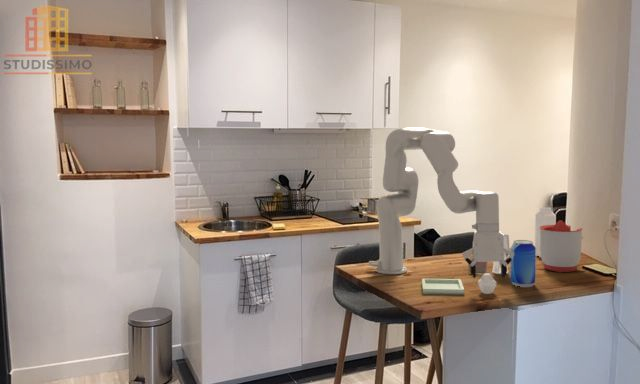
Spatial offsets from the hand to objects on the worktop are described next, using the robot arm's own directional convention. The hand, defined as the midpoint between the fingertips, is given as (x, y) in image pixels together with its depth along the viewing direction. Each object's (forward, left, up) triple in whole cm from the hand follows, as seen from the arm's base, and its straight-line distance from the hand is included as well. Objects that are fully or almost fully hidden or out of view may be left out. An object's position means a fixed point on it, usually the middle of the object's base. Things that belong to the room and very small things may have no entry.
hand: (488, 276), depth 185 cm
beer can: (+14, +11, -6) cm, 19 cm away
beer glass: (+9, +29, -6) cm, 31 cm away
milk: (+33, +59, -6) cm, 68 cm away
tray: (-15, +4, -6) cm, 17 cm away
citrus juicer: (+34, +36, -6) cm, 50 cm away
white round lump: (0, 0, -6) cm, 6 cm away
